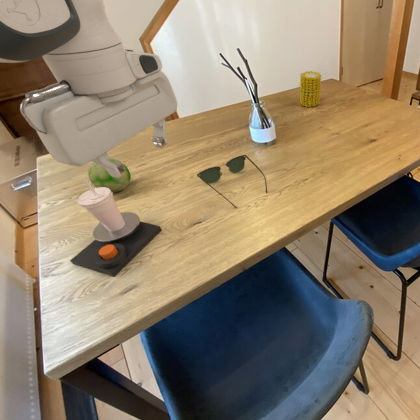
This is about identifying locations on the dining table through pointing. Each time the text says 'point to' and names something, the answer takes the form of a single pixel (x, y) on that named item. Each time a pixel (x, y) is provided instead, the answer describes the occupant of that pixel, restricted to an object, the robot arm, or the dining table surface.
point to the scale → (125, 248)
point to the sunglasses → (234, 166)
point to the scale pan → (111, 236)
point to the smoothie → (102, 207)
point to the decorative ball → (108, 177)
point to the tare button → (108, 252)
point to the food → (310, 88)
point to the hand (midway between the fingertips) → (142, 159)
